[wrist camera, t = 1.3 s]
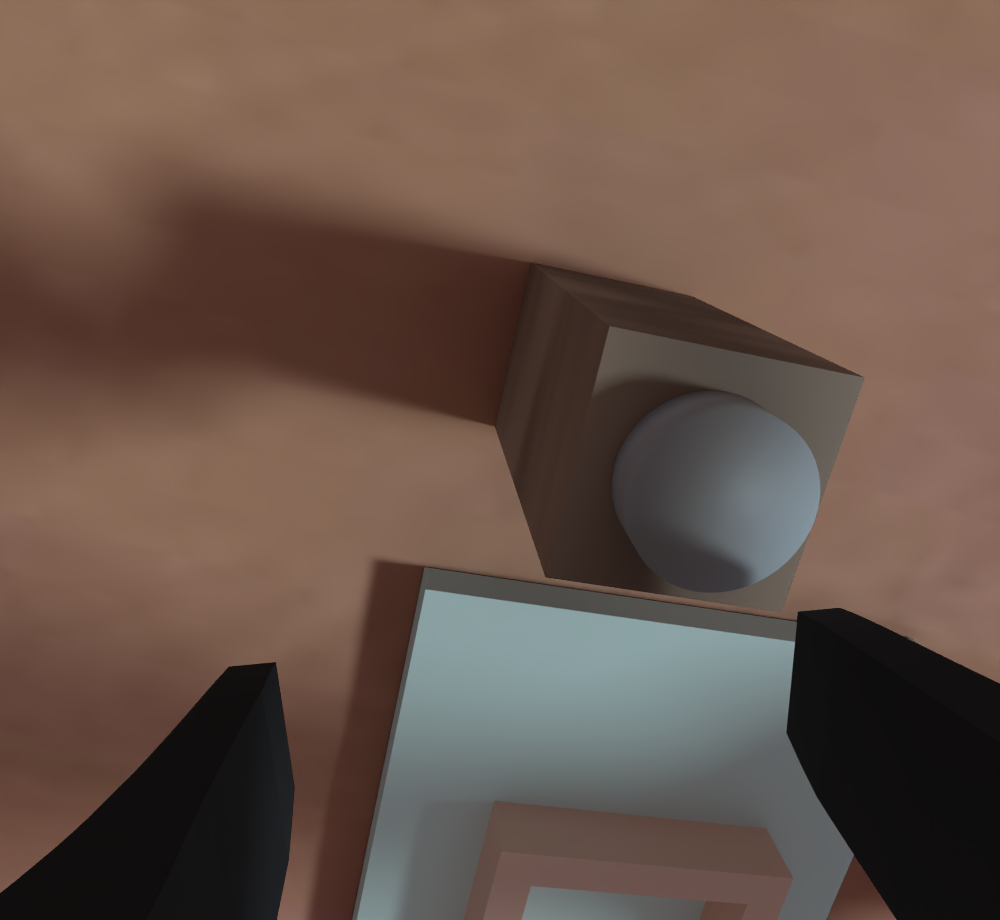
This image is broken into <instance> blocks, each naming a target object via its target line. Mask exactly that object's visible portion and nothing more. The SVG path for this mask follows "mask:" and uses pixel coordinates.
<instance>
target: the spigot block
mask: <svg viewBox="0 0 1000 920" xmlns="http://www.w3.org/2000/svg"><path fill="white" fill-rule="evenodd" d="M863 380H864V377H862V376H860V375H858V374H856V373H854V372H852V371H849V370H847V369H845V368H843V367H841V366H839V365H837V364H835V363H832V362H830V361H828V360H826V359H824V358H822V357H820V356H818V355H815V354H813V353H811V352H809V351H807V350H805V349H803V348H801V347H799V346H796V345H794V344H792V343H790V342H788V341H786V340H784V339H782V338H779V337H777V336H775V335H773V334H771V333H769V332H767V331H765V330H762V329H760V328H758V327H756V326H754V325H752V324H750V323H748V322H746V321H743V320H741V319H739V318H737V317H735V316H733V315H731V314H729V313H726V312H724V311H722V310H720V309H718V308H716V307H714V306H712V305H709V304H707V303H705V302H703V301H701V300H699V299H697V298H695V297H691V296H686V295H682V294H677V293H672V292H667V291H663V290H658V289H653V288H648V287H644V286H639V285H634V284H630V283H625V282H620V281H615V280H611V279H606V278H601V277H596V276H592V275H587V274H582V273H578V272H573V271H568V270H563V269H559V268H554V267H549V266H544V265H540V264H535V263H531V266H530V270H529V275H528V279H527V284H526V288H525V293H524V297H523V302H522V306H521V311H520V315H519V320H518V324H517V329H516V334H515V338H514V343H513V347H512V352H511V356H510V361H509V365H508V370H507V374H506V379H505V383H504V388H503V392H502V397H501V401H500V406H499V410H498V415H497V419H496V424H495V428H496V431H497V434H498V437H499V440H500V443H501V446H502V449H503V452H504V455H505V458H506V461H507V464H508V467H509V470H510V473H511V476H512V479H513V482H514V485H515V488H516V491H517V494H518V497H519V500H520V503H521V506H522V509H523V512H524V515H525V518H526V520H527V523H528V526H529V529H530V532H531V535H532V538H533V541H534V544H535V547H536V550H537V553H538V556H539V559H540V562H541V565H542V568H543V571H544V574H545V577H547V578H554V579H561V580H568V581H574V582H581V583H588V584H595V585H601V586H608V587H615V588H622V589H628V590H635V591H642V592H649V593H655V594H662V595H669V596H676V597H682V598H689V599H696V600H703V601H710V602H716V603H723V604H730V605H737V606H743V607H750V608H757V609H764V610H770V611H777V612H781V611H782V608H783V605H784V603H785V600H786V597H787V594H788V591H789V589H790V586H791V583H792V580H793V577H794V574H795V572H796V569H797V566H798V563H799V560H800V558H801V555H802V552H803V549H804V546H805V544H806V541H807V538H808V535H809V532H810V530H811V528H812V525H813V523H814V521H815V518H816V514H817V511H818V507H819V504H820V501H821V499H822V496H823V493H824V490H825V487H826V485H827V482H828V479H829V476H830V473H831V470H832V468H833V465H834V462H835V459H836V456H837V454H838V451H839V448H840V445H841V442H842V440H843V437H844V434H845V431H846V428H847V425H848V423H849V420H850V417H851V414H852V411H853V409H854V406H855V403H856V400H857V397H858V395H859V392H860V389H861V386H862V383H863Z"/></svg>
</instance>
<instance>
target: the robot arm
mask: <svg viewBox="0 0 1000 920" xmlns="http://www.w3.org/2000/svg"><path fill="white" fill-rule="evenodd" d="M786 734H787V736H788V738H789V740H790V742H791V744H792V747H793V749H794V751H795V753H796V755H797V758H798V760H799V762H800V764H801V766H802V768H803V770H804V772H805V774H806V776H807V778H808V780H809V782H810V784H811V786H812V788H813V790H814V792H815V794H816V796H817V798H818V800H819V801H820V803H821V805H822V806H823V808H824V809H825V811H826V813H827V814H828V816H829V817H830V819H831V820H832V822H833V823H834V825H835V826H836V828H837V830H838V831H839V833H840V834H841V836H842V837H843V839H844V840H845V842H846V844H847V845H848V847H849V848H850V850H851V851H852V853H853V854H854V856H855V857H856V859H857V860H858V862H859V863H860V865H861V866H862V868H863V869H864V871H865V872H866V874H867V875H868V877H869V878H870V880H871V881H872V883H873V884H874V886H875V887H876V889H877V891H878V892H879V894H880V895H881V897H882V898H883V900H884V901H885V903H886V904H887V906H888V907H889V909H890V910H891V912H892V913H893V915H894V916H895V918H896V919H897V920H1000V683H997V682H995V681H993V680H991V679H989V678H987V677H985V676H983V675H981V674H978V673H976V672H974V671H972V670H970V669H968V668H966V667H964V666H962V665H960V664H958V663H956V662H954V661H952V660H950V659H948V658H946V657H944V656H942V655H940V654H938V653H935V652H933V651H931V650H929V649H927V648H925V647H923V646H921V645H919V644H917V643H915V642H913V641H911V640H909V639H907V638H905V637H903V636H901V635H899V634H897V633H895V632H893V631H891V630H889V629H887V628H885V627H883V626H881V625H879V624H876V623H874V622H872V621H870V620H868V619H866V618H863V617H861V616H859V615H857V614H854V613H852V612H849V611H847V610H844V609H841V608H832V609H822V610H812V611H801V612H798V616H797V627H796V637H795V647H794V658H793V668H792V678H791V689H790V699H789V709H788V720H787V730H786ZM294 789H295V787H294V780H293V774H292V767H291V760H290V754H289V747H288V740H287V733H286V727H285V720H284V713H283V707H282V700H281V693H280V687H279V680H278V673H277V667H276V662H273V663H263V664H252V665H242V666H232V667H228V668H227V669H226V671H225V672H224V673H223V674H222V675H221V676H220V677H219V678H218V679H217V680H216V681H215V683H214V684H213V685H212V686H211V687H210V688H209V689H208V691H207V692H206V693H205V694H204V695H203V696H202V697H201V699H200V700H199V701H198V702H197V703H196V704H195V706H194V707H193V708H192V709H191V710H190V711H189V712H188V714H187V715H186V716H185V717H184V718H183V719H182V720H181V722H180V723H179V724H178V725H177V726H176V727H175V728H174V730H173V731H172V732H171V733H170V734H169V735H168V736H167V737H166V738H165V740H164V741H163V742H162V743H161V744H160V745H159V746H158V747H157V748H156V749H155V750H154V752H153V753H152V754H151V755H150V756H149V757H148V758H147V759H146V760H145V761H144V762H143V764H142V765H141V766H140V767H139V768H138V769H137V770H136V771H135V772H134V773H133V774H132V775H131V776H130V777H129V778H128V779H127V780H126V781H125V782H124V783H123V784H122V785H121V786H120V787H119V788H118V789H117V790H116V791H115V792H114V793H113V794H112V795H111V796H110V797H109V798H108V799H107V800H106V801H105V802H104V803H103V804H102V805H101V806H100V807H99V808H98V809H97V810H96V811H95V812H94V813H93V814H92V815H91V816H90V817H89V818H88V819H87V820H86V821H85V822H83V823H82V824H81V825H80V826H79V827H78V828H77V829H76V830H75V831H74V832H73V833H71V834H70V835H69V836H68V837H67V838H66V839H65V840H64V841H62V842H61V843H60V844H59V845H58V846H57V847H56V848H55V849H53V850H52V851H51V852H50V853H49V854H47V855H46V856H45V857H44V858H43V859H41V860H40V861H39V862H38V863H37V864H35V865H34V866H33V867H32V868H31V869H29V870H28V871H27V872H26V873H25V874H23V875H22V876H21V877H20V878H19V879H17V880H16V881H15V882H14V883H12V884H11V885H10V886H9V887H7V888H6V889H5V890H4V891H2V892H1V893H0V920H277V916H278V911H279V906H280V901H281V896H282V891H283V886H284V881H285V876H286V871H287V866H288V861H289V850H290V839H291V828H292V815H293V802H294Z"/></svg>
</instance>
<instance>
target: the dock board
mask: <svg viewBox="0 0 1000 920" xmlns="http://www.w3.org/2000/svg"><path fill="white" fill-rule="evenodd" d="M796 627H797V622H795V621H788V620H782V619H775V618H768V617H761V616H754V615H747V614H741V613H734V612H727V611H720V610H713V609H706V608H700V607H693V606H686V605H679V604H672V603H666V602H659V601H652V600H645V599H638V598H631V597H625V596H618V595H611V594H604V593H597V592H591V591H584V590H577V589H570V588H563V587H556V586H550V585H543V584H536V583H529V582H522V581H516V580H509V579H502V578H495V577H488V576H481V575H475V574H468V573H461V572H454V571H447V570H440V569H434V568H427V567H424V572H423V577H422V582H421V587H420V592H419V597H418V601H417V606H416V611H415V616H414V621H413V626H412V631H411V635H410V640H409V645H408V650H407V655H406V660H405V665H404V669H403V674H402V679H401V684H400V689H399V694H398V699H397V704H396V708H395V713H394V718H393V723H392V728H391V733H390V738H389V742H388V747H387V752H386V757H385V762H384V767H383V772H382V776H381V781H380V786H379V791H378V796H377V801H376V806H375V810H374V815H373V820H372V825H371V830H370V835H369V840H368V845H367V849H366V854H365V859H364V864H363V869H362V874H361V879H360V883H359V888H358V893H357V898H356V903H355V908H354V913H353V917H352V920H826V919H827V917H828V914H829V912H830V910H831V907H832V905H833V903H834V900H835V898H836V896H837V893H838V891H839V889H840V886H841V884H842V882H843V879H844V877H845V875H846V872H847V870H848V868H849V865H850V863H851V861H852V858H853V856H854V854H853V853H852V851H851V850H850V848H849V847H848V845H847V844H846V842H845V840H844V839H843V837H842V836H841V834H840V833H839V831H838V830H837V828H836V826H835V825H834V823H833V822H832V820H831V819H830V817H829V816H828V814H827V813H826V811H825V809H824V808H823V806H822V805H821V803H820V801H819V800H818V798H817V796H816V794H815V792H814V790H813V788H812V786H811V784H810V782H809V780H808V778H807V776H806V774H805V772H804V770H803V768H802V766H801V764H800V762H799V760H798V758H797V755H796V753H795V751H794V749H793V747H792V744H791V742H790V740H789V738H788V736H787V734H786V730H787V720H788V709H789V699H790V689H791V678H792V668H793V658H794V647H795V637H796ZM907 639H909V640H911V641H913V642H915V641H914V640H913V639H911V638H907ZM915 643H916V642H915Z"/></svg>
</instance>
